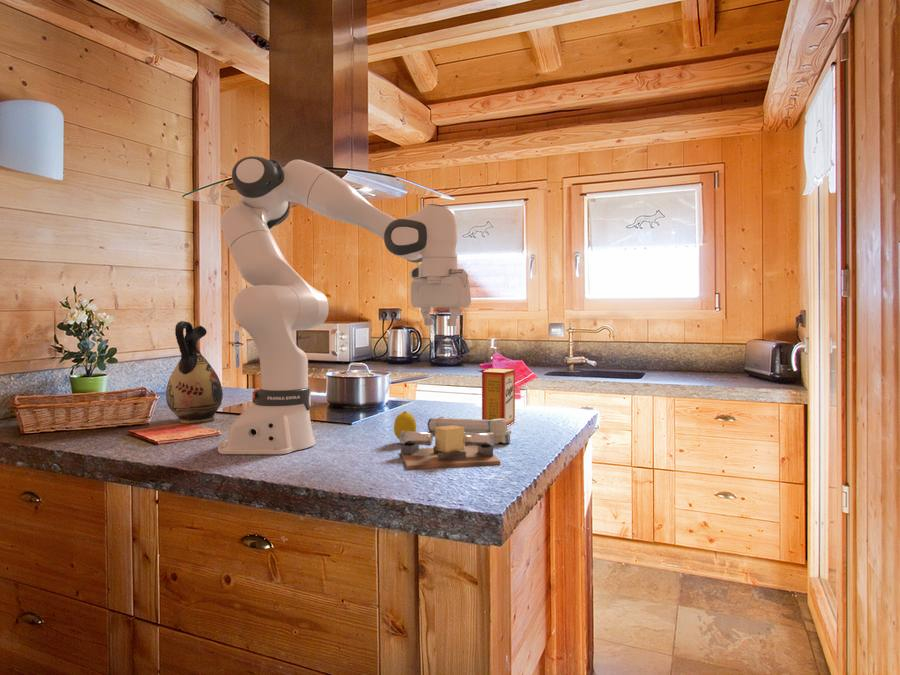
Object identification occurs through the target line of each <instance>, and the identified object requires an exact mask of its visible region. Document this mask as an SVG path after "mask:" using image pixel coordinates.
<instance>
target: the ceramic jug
mask: <svg viewBox="0 0 900 675" xmlns="http://www.w3.org/2000/svg"><path fill="white" fill-rule="evenodd" d="M184 330H185V331H184ZM184 332H185V333H184ZM207 333H208V332H207V329H206V328H205V327H204V326H202V325H198V326H195V327H193V324H192V323H191V322H189V321H184V320H181V321H179V322H177V323H176V324H175V329H174V334H175V338H176V343H177V344H178V347H179V348H178V349H179V353H180V360H179V361H178V363H177V364H176V366H175V367H174V369H173V371H172V372H171V374H170V377H169V379H168V382H167V386H166V391H165V397H166V398H165V399H166V403H167V404H166V405H167V407H168V409H169V410H170V411H171V412H173V414H175V416H176V417H177V418H178V420H179V422H180V423H182V424H185V423H187V424H191V423H193V424H194V423H207V422H211V421H215V418H214V416H215V415H216V412H217V411H218V410H219V408H220V407H221V405H222V400H223V397H224V392H223V387H222V383H221V381H220V377H219V376H218V374H217V373H216V371H215V370H214V368H213V367H212V365H211V364H210V363H209V361H208V360H207V359H206V358H205V357H204V356H203V355H202V353H201V351H200V350H199V349H198V341H199V340H200V339H202V338H203V337H205V336H206V335H207Z"/></svg>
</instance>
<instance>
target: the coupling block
mask: <svg viewBox="0 0 900 675" xmlns="http://www.w3.org/2000/svg"><path fill="white" fill-rule="evenodd" d="M464 434H465V432H464V427H459V426H455V425H451V426H442V427H435V432H434V437H435V438H434V441H435V442H434V446H435V450H437V451H441V452H444V453H449V452H456V451H462V450H464Z"/></svg>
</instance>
